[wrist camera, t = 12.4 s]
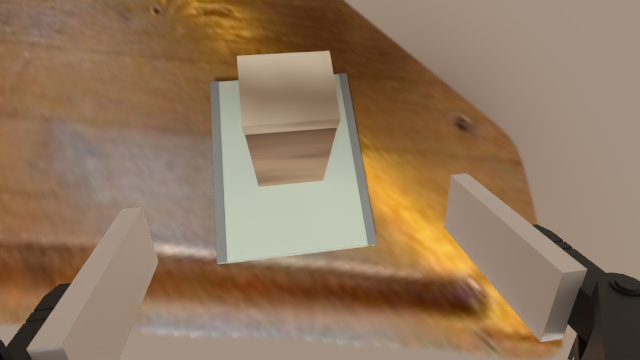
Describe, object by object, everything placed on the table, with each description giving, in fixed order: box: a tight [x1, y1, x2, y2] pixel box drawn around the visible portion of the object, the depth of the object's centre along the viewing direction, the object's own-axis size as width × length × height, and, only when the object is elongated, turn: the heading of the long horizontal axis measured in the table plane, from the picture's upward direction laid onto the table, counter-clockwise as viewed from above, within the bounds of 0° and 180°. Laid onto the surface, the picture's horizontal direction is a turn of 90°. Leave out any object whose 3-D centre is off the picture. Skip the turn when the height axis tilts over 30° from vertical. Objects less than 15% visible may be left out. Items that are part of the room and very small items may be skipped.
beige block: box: [237, 51, 341, 187], centre depth 29 cm, size 5×6×12 cm
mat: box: [210, 73, 377, 264], centre depth 35 cm, size 18×14×1 cm
